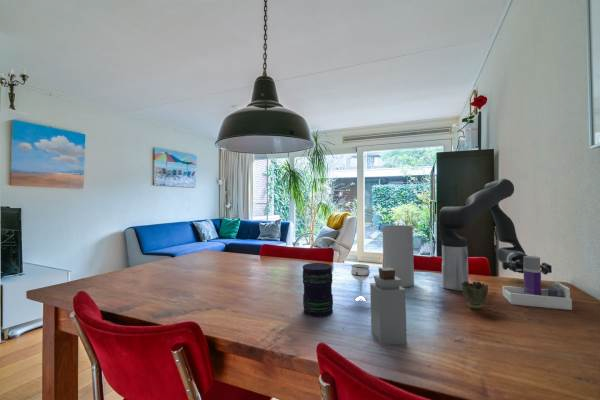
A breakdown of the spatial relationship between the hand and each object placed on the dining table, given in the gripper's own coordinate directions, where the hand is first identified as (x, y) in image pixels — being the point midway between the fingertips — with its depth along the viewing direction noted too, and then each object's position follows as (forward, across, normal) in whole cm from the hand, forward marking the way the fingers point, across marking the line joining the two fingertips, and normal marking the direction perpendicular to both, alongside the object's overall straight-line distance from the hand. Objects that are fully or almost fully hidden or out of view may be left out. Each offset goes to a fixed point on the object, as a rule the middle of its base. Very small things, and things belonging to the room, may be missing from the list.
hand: (530, 270), depth 99 cm
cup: (+17, -18, +11) cm, 27 cm away
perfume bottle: (+50, -40, +11) cm, 65 cm away
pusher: (+1, +6, +10) cm, 11 cm away
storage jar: (+41, -64, +11) cm, 77 cm away
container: (+2, 0, +10) cm, 10 cm away
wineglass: (+23, -55, +11) cm, 60 cm away
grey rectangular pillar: (-3, -45, +11) cm, 46 cm away
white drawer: (+2, 0, +10) cm, 11 cm away
